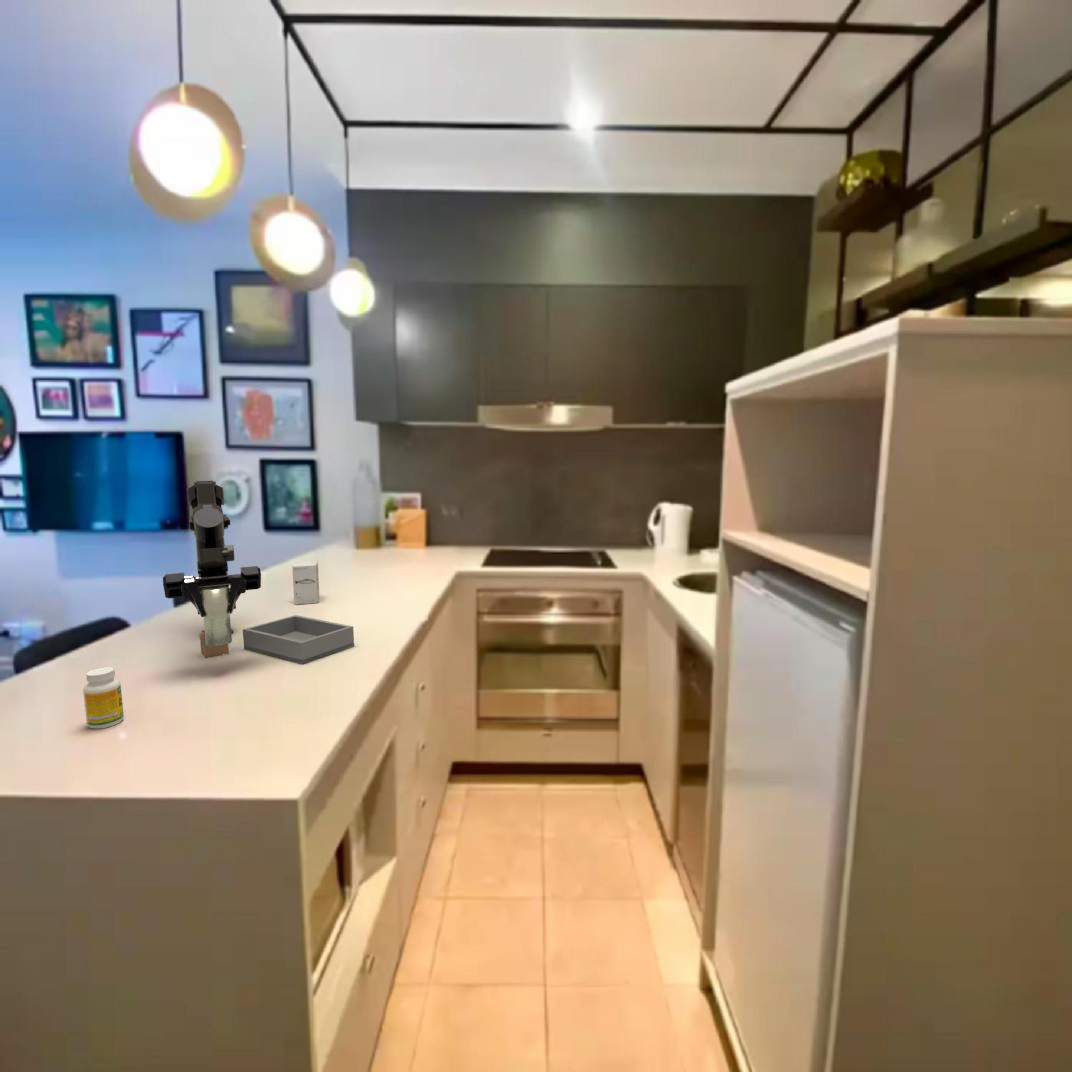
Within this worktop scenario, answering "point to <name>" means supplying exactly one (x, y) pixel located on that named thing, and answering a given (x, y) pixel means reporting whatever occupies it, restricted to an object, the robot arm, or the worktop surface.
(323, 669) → the worktop surface
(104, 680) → the supplement bottle
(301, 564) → the supplement box
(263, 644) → the tote
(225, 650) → the walnut cube
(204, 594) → the sage tin
